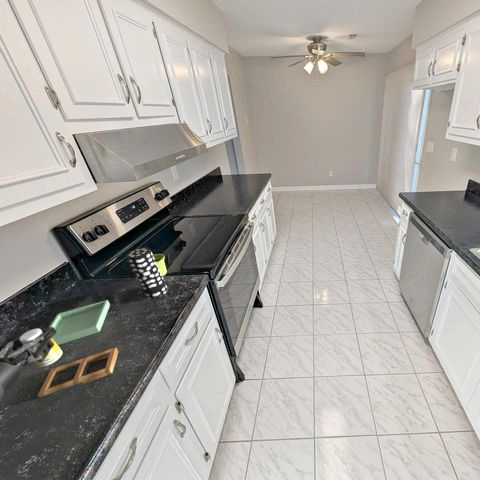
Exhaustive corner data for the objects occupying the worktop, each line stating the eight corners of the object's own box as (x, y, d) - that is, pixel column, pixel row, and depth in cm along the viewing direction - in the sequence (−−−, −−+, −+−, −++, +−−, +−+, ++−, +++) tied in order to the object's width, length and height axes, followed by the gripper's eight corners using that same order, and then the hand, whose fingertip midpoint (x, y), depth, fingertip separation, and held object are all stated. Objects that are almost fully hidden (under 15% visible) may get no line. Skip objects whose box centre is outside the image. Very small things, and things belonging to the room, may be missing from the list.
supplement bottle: (53, 349, 74) (34, 325, 69) (68, 351, 73) (49, 327, 68) (32, 365, 69) (9, 341, 65) (46, 368, 68) (25, 343, 63)
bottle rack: (41, 400, 70) (37, 395, 69) (54, 373, 77) (51, 369, 76) (112, 373, 75) (109, 369, 74) (118, 351, 82) (115, 347, 81)
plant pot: (144, 278, 119) (136, 262, 115) (162, 267, 126) (155, 252, 122) (156, 282, 115) (149, 266, 111) (174, 271, 123) (168, 255, 118)
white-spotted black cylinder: (158, 299, 104) (138, 258, 95) (141, 298, 106) (120, 257, 96) (171, 286, 111) (155, 247, 102) (155, 285, 113) (137, 246, 103)
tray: (42, 350, 85) (37, 344, 84) (61, 318, 98) (57, 313, 97) (99, 331, 91) (96, 326, 89) (110, 304, 103) (107, 299, 102)
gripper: (7, 373, 54) (63, 316, 69) (-73, 387, 52) (2, 325, 67) (28, 394, 57) (77, 335, 72) (-46, 408, 55) (20, 345, 70)
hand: (41, 331), depth 69 cm, fingers closed on supplement bottle, 5 cm apart
